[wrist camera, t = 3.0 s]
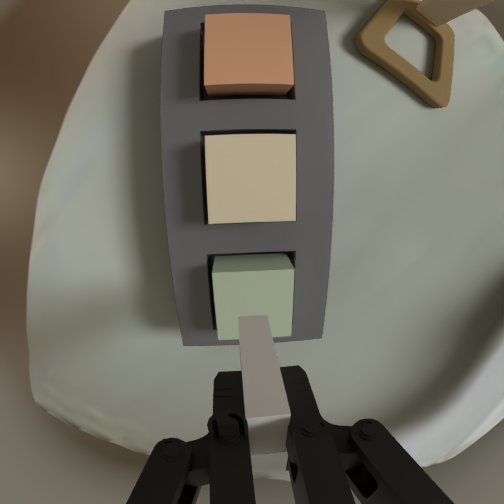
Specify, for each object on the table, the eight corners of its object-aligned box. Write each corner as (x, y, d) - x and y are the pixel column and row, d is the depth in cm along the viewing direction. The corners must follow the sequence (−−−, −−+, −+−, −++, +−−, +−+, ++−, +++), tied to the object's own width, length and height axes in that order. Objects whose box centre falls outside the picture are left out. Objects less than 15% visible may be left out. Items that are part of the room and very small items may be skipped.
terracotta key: (281, 33, 15) (289, 15, 12) (284, 95, 17) (294, 84, 14) (208, 33, 15) (205, 14, 12) (208, 96, 16) (204, 85, 13)
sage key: (285, 253, 20) (294, 269, 17) (284, 313, 22) (291, 335, 19) (214, 256, 20) (212, 272, 17) (219, 317, 21) (218, 340, 19)
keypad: (175, 32, 17) (164, 11, 13) (310, 31, 17) (324, 11, 13) (189, 319, 25) (183, 345, 21) (310, 313, 25) (321, 338, 22)
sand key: (285, 137, 17) (295, 134, 15) (286, 211, 19) (295, 221, 16) (209, 139, 17) (204, 135, 14) (212, 213, 19) (208, 223, 16)
